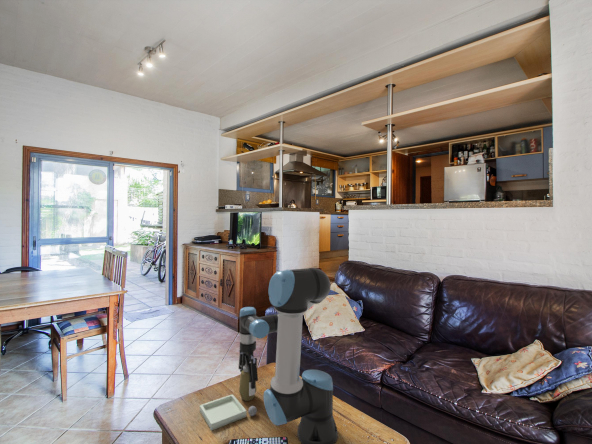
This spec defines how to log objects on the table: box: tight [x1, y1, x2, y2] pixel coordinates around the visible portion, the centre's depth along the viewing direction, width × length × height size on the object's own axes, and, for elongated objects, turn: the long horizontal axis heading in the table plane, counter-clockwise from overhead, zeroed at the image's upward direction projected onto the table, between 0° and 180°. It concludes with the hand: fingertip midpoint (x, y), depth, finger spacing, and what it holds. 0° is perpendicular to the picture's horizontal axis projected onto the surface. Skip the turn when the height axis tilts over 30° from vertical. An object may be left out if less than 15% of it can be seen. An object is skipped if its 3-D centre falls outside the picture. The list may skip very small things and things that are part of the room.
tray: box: [199, 394, 248, 432], centre depth 127 cm, size 15×15×2 cm
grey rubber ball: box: [247, 405, 258, 417], centre depth 126 cm, size 4×4×4 cm
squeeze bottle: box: [238, 364, 257, 402], centre depth 139 cm, size 8×8×18 cm
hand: (247, 390), depth 139 cm, fingers open, 8 cm apart
